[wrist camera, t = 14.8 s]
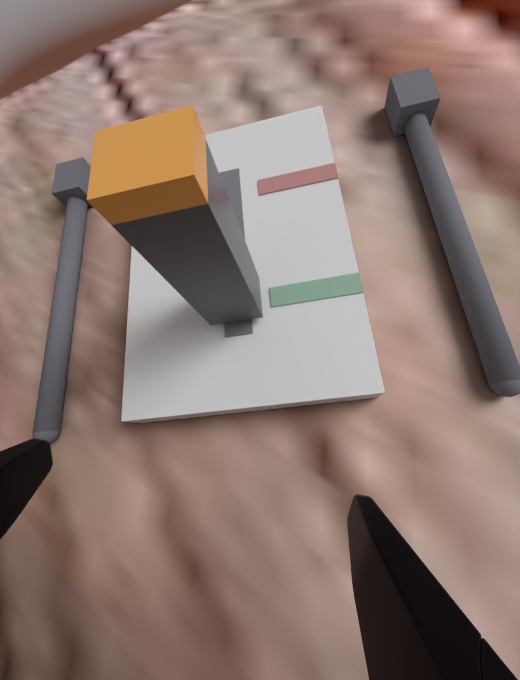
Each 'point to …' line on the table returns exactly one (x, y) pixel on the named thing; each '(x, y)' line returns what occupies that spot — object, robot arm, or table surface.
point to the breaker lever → (176, 212)
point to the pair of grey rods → (415, 120)
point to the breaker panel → (276, 292)
